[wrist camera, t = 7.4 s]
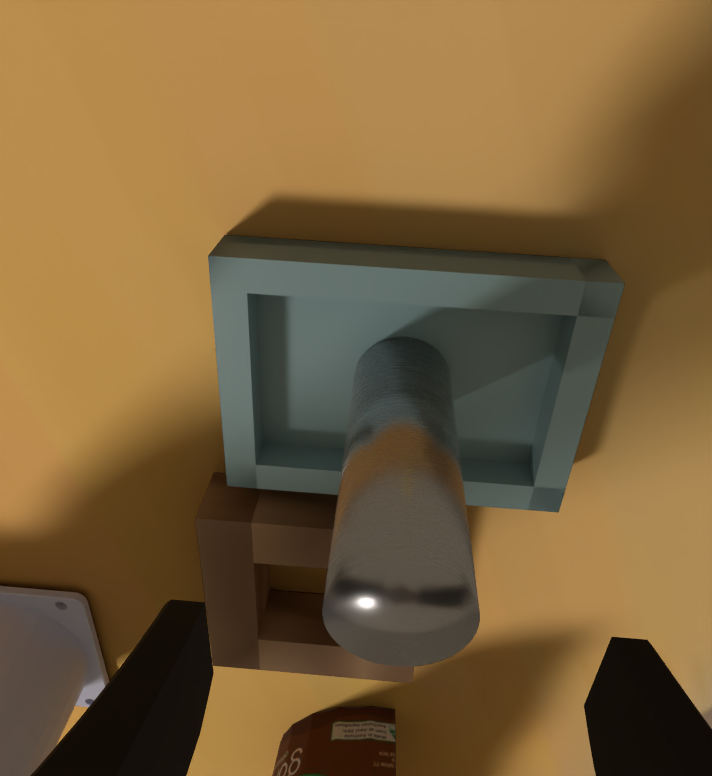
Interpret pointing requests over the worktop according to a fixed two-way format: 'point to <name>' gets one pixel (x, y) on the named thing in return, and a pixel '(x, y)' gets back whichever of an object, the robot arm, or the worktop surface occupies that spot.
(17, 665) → the robot arm
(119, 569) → the worktop surface
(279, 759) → the food container
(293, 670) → the holder
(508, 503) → the tray
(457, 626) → the pin
